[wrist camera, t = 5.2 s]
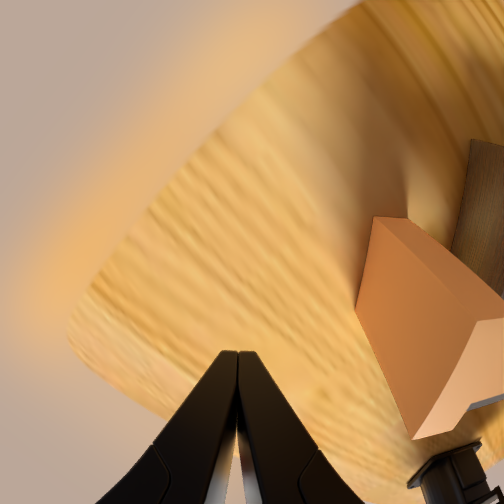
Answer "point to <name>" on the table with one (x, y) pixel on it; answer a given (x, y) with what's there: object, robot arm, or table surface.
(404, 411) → the tan piece
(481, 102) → the table surface
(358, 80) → the table surface
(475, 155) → the slotted grey stand
